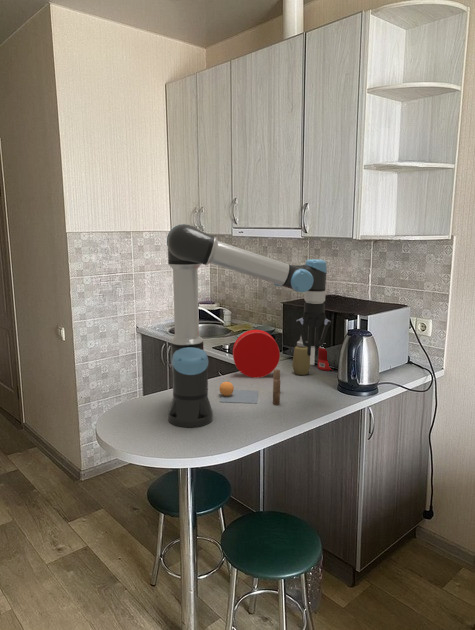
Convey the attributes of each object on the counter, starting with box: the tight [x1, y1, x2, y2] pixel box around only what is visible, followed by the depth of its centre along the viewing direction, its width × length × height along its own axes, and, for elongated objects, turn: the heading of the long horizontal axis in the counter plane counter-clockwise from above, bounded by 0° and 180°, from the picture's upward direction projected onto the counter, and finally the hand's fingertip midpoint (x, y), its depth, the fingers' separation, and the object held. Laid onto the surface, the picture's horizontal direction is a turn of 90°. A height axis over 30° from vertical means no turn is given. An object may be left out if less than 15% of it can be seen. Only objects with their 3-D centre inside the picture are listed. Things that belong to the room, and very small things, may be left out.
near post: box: [272, 379, 281, 406], centre depth 184 cm, size 3×3×9 cm
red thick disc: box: [232, 329, 281, 379], centre depth 216 cm, size 20×6×20 cm, turn 93°
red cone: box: [317, 346, 333, 372], centre depth 229 cm, size 8×8×11 cm
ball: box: [218, 381, 235, 396], centre depth 192 cm, size 6×6×6 cm
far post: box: [272, 368, 281, 381], centre depth 196 cm, size 3×3×9 cm
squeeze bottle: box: [291, 336, 311, 376], centre depth 221 cm, size 8×8×18 cm
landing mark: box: [219, 389, 260, 405], centre depth 192 cm, size 14×14×1 cm
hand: (312, 363), depth 187 cm, fingers closed
